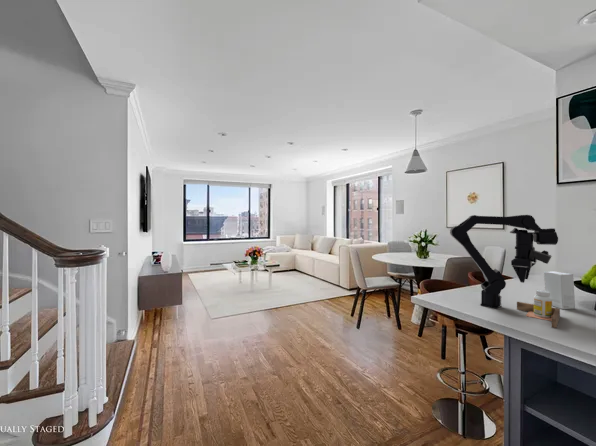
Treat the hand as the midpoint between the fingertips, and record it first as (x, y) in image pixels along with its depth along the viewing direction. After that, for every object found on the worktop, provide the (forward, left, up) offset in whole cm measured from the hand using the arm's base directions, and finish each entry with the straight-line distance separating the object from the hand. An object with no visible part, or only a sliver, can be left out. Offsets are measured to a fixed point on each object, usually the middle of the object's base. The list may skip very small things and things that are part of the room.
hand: (524, 280), depth 118 cm
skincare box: (+10, +15, -12) cm, 22 cm away
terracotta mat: (+6, -7, -12) cm, 15 cm away
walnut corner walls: (+4, -10, -12) cm, 16 cm away
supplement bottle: (+6, -7, -12) cm, 15 cm away
